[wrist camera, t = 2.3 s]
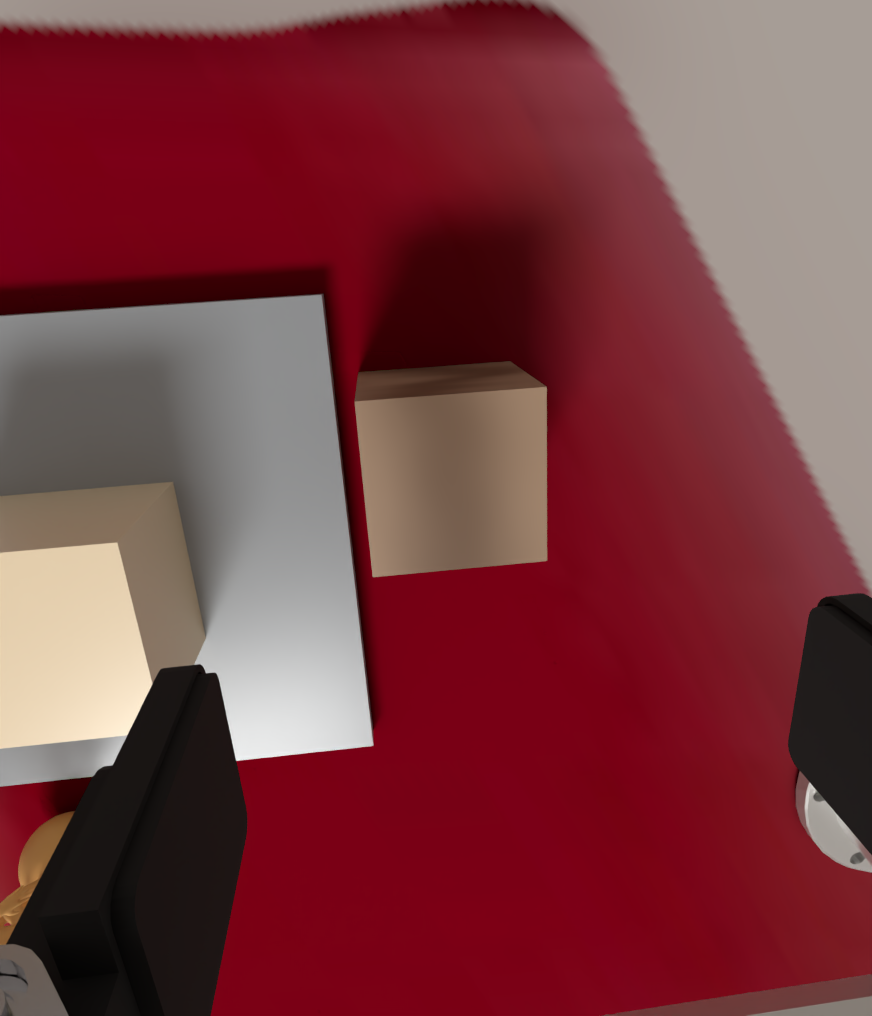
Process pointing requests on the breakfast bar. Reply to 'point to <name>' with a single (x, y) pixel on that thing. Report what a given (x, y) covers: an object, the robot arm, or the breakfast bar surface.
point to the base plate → (231, 495)
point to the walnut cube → (453, 467)
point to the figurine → (31, 870)
